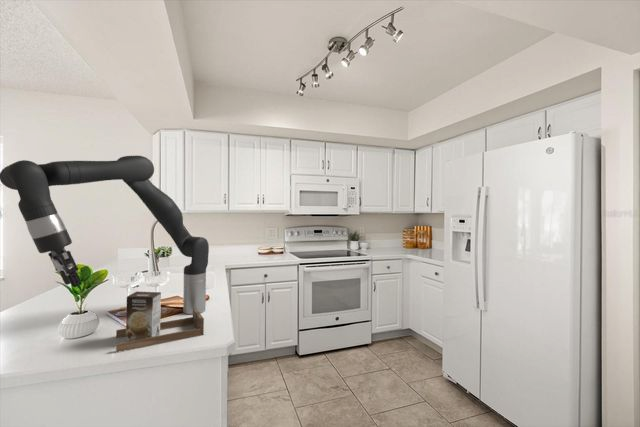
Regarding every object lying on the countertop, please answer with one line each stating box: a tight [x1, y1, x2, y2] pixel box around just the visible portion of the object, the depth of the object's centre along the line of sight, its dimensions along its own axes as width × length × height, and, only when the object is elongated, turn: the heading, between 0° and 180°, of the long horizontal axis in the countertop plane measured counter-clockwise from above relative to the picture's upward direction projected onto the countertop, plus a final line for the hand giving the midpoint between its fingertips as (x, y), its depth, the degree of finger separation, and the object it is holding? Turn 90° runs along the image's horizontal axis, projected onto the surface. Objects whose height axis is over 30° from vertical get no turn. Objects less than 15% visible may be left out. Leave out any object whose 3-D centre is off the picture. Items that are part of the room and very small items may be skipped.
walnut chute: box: [115, 308, 205, 353], centre depth 110 cm, size 14×27×6 cm, turn 123°
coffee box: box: [125, 291, 162, 342], centre depth 107 cm, size 9×6×16 cm
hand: (73, 284), depth 89 cm, fingers open, 8 cm apart
